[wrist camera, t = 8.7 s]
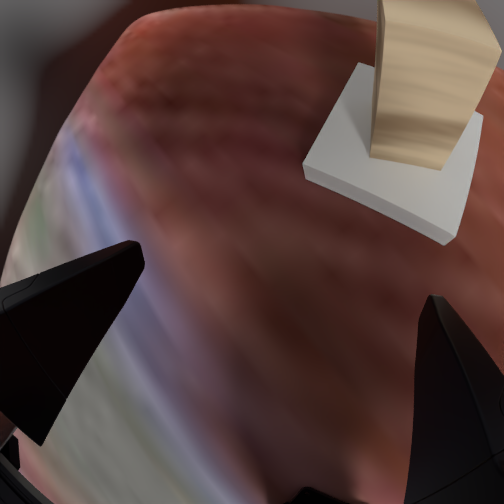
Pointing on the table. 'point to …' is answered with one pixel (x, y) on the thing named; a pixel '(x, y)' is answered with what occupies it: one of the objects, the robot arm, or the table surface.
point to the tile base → (390, 167)
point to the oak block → (428, 77)
